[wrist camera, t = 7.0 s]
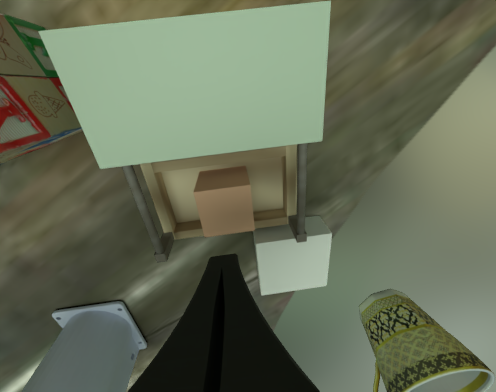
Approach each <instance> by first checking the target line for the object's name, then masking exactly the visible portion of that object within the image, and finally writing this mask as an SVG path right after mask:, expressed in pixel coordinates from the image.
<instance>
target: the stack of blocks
mask: <svg viewBox="0 0 496 392" xmlns="http://www.w3.org/2000/svg"><path fill="white" fill-rule="evenodd" d="M45 30H46V29H45V28H44V27H41V26H38V25H35V24H33V23H30V22H27V21H24V20H21V19H18V18H15V17H12V16H9V15H6V14H0V165H1V164H3V163H5V162H7V161H9V160H12V159H14V158H16V157H19V156H21V155H24V154H26V153H29V152H32V151H34V150H37V149H40V148H42V147H45V146H47V145H50V144H52V143H54V142H57V141H59V140H62V139H64V138H67V137H70V136H72V135H75V134H77V133H80V132H82V131H83V129H82V127H81V125H80V123H79V120H78V118H77V116H76V114H75V112H74V109H73V107H72V105H71V103H70V101H69V98H68V96H67V94H66V92H65V89H64V87H63V85H62V83H61V81H60V78H59V76H58V74H57V72H56V70H55V67H54V65H53V63H52V61H51V58H50V56H49V54H48V52H47V50H46V47H45V45H44V43H43V41H42V39H41V36H40V34H39V32H38V31H45Z"/></svg>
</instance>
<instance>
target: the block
mask: <svg viewBox="0 0 496 392" xmlns="http://www.w3.org/2000/svg"><path fill="white" fill-rule="evenodd" d="M193 193H194V197H195V201H196V205H197V209H198V213H199V217H200V221H201V225H202V229H203V233H204V237H211V236H218V235H226V234H233V233H240V232H247V231H255V225H254V216H253V206H252V197H251V187H250V182H249V178H248V173H247V169H246V166H238V167H231V168H223V169H215V170H207V171H200V172H199V175H198V178H197V182H196V185H195V189H194V192H193Z"/></svg>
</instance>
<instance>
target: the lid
mask: <svg viewBox="0 0 496 392" xmlns="http://www.w3.org/2000/svg"><path fill="white" fill-rule="evenodd" d="M330 6H331V1H323V2H314V3H304V4H294V5H285V6H275V7H265V8H256V9H246V10H237V11H227V12H217V13H208V14H198V15H189V16H179V17H169V18H160V19H150V20H141V21H131V22H121V23H112V24H102V25H93V26H83V27H73V28H64V29H54V30H45V31H38V32H39V34H40V36H41V39H42V41H43V43H44V45H45V47H46V50H47V52H48V54H49V56H50V58H51V61H52V63H53V65H54V67H55V70H56V72H57V74H58V76H59V78H60V81H61V83H62V85H63V87H64V89H65V92H66V94H67V96H68V98H69V101H70V103H71V105H72V107H73V109H74V112H75V114H76V116H77V118H78V120H79V123H80V125H81V127H82V129H83V132H84V134H85V136H86V138H87V140H88V143H89V145H90V147H91V149H92V151H93V154H94V156H95V158H96V160H97V163H98V165H99V167H100V169H104V168H112V167H120V166H128V165H136V164H144V163H152V162H160V161H167V160H175V159H183V158H191V157H199V156H207V155H215V154H223V153H231V152H239V151H247V150H255V149H263V148H271V147H279V146H287V145H295V144H303V143H311V142H319V141H322V137H323V121H324V104H325V88H326V72H327V55H328V39H329V23H330Z"/></svg>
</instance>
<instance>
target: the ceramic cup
mask: <svg viewBox="0 0 496 392" xmlns="http://www.w3.org/2000/svg"><path fill="white" fill-rule="evenodd" d="M359 311H360V318H361V321H362V323H363V326H364V328H365V331H366V333H367V336H368V338H369V341H370V344H371V346H372V349H373V352H374V354H375V357H376V363H375V365H376V366H375V367H376V374H375V381H374V386H373V392H378V386H379V380H380V373H381V376H382V379H383V382H384V384H385V388H386V390H387V392H486V391H487V390H488V389H489V388H490V387H491V385H492V384H493V383H494V380H495V375H494V373H493V372H492V371H491V370H490V369H489V368H488V367H487V366H486V365H485V364H484V363H483V362H482V361H481V360H480V359H479V358H478V357H476V356H475V355H474V354H473V353H472V352H471V351H470V350H469V349H467V348H466V347H465V346H464V345H463V344H462V343H461V342H459V341H458V340H457V339H456V338H455V337H453V336H452V335H451V334H450V333H448V332H447V331H445V329H443V328H442V327H441V326H440V325H439V324H438V323H437V322H436V321H435V320H434V319H432V318H431V317H430V316H429V315H428V314H427V313H426V312H424V311H423V310H422V309H421V308H420V307H418V306H417V305H416V304H415V303H414V302H413V301H412V300H411V299H410V298H408V297H407V296H406V295H405V294H403V293H402V292H399V291H396V290H393V289H387V290H384V291H380V292H377V293H373V294H371V295H370V296H369V297H368V298H367V299H366V300H365V301H364V302H363V303H361V304H360V305H359Z"/></svg>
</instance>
